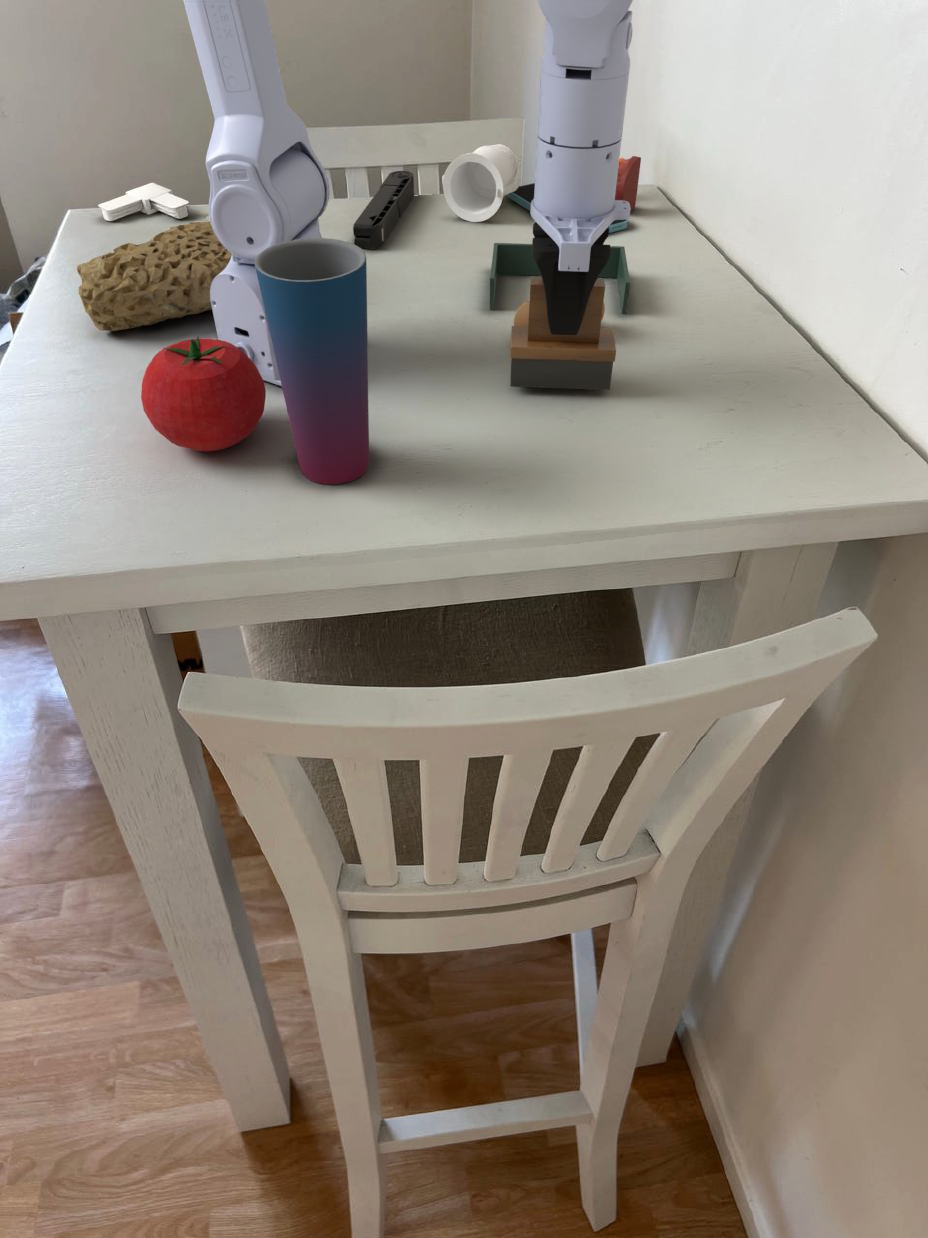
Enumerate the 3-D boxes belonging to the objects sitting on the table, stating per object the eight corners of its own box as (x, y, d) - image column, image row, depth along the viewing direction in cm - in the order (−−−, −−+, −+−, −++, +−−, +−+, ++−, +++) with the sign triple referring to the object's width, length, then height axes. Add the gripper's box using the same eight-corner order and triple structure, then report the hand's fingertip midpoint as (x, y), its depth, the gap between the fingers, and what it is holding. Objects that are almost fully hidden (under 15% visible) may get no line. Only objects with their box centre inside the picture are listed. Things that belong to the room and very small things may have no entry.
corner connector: (135, 222, 96) (139, 237, 97) (195, 199, 100) (198, 214, 102) (93, 203, 100) (97, 217, 101) (152, 182, 104) (155, 196, 105)
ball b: (544, 359, 76) (547, 315, 74) (504, 348, 78) (505, 304, 75) (565, 341, 79) (569, 297, 76) (526, 330, 80) (528, 287, 78)
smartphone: (578, 233, 96) (505, 188, 105) (577, 243, 96) (504, 198, 105) (632, 220, 98) (555, 178, 107) (631, 230, 99) (555, 187, 108)
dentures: (574, 149, 102) (620, 167, 97) (602, 142, 103) (649, 159, 98) (571, 200, 106) (615, 220, 101) (599, 193, 107) (643, 211, 102)
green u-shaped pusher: (626, 313, 83) (630, 282, 81) (489, 309, 84) (490, 278, 82) (618, 264, 91) (622, 234, 89) (494, 260, 92) (495, 231, 90)
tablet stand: (391, 168, 105) (416, 170, 105) (393, 191, 107) (417, 193, 107) (350, 224, 93) (378, 226, 92) (353, 249, 94) (380, 251, 94)
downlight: (503, 228, 99) (527, 202, 106) (509, 160, 94) (535, 138, 101) (436, 215, 101) (464, 191, 108) (439, 148, 96) (468, 127, 103)
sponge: (110, 364, 78) (320, 284, 81) (63, 276, 74) (288, 194, 76) (109, 327, 89) (295, 258, 91) (68, 248, 84) (265, 177, 86)
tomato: (287, 453, 66) (271, 352, 60) (168, 482, 63) (140, 380, 58) (254, 398, 72) (237, 302, 66) (143, 423, 69) (115, 325, 63)
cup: (268, 475, 64) (231, 267, 53) (322, 431, 68) (297, 230, 58) (348, 502, 61) (325, 289, 51) (398, 454, 66) (387, 249, 55)
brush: (611, 391, 71) (623, 293, 66) (508, 387, 72) (512, 290, 66) (608, 368, 74) (620, 272, 68) (510, 364, 74) (514, 269, 69)
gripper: (647, 171, 55) (620, 373, 64) (631, 107, 65) (610, 289, 75) (532, 169, 55) (522, 369, 65) (535, 106, 66) (526, 286, 75)
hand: (563, 326), depth 70 cm, fingers closed on brush, 2 cm apart
